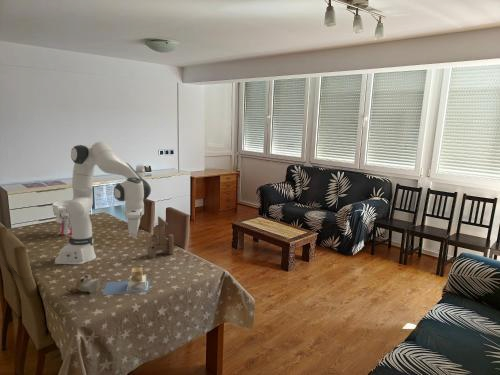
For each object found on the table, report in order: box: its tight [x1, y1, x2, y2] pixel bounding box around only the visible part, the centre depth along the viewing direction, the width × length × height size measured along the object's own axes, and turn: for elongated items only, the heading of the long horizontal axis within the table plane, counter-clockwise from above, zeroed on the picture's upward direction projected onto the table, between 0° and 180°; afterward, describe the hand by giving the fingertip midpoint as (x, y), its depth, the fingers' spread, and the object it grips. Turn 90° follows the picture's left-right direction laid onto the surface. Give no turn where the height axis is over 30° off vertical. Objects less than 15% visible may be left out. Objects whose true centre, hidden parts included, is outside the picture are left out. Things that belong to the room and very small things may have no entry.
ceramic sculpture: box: [66, 274, 100, 294], centre depth 178 cm, size 11×9×15 cm
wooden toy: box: [146, 215, 174, 259], centre depth 227 cm, size 16×7×25 cm, turn 122°
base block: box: [128, 274, 147, 290], centre depth 183 cm, size 8×8×4 cm
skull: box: [52, 199, 72, 237], centre depth 259 cm, size 25×19×23 cm
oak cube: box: [130, 266, 144, 281], centre depth 182 cm, size 5×5×5 cm
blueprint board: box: [101, 279, 151, 296], centre depth 182 cm, size 22×14×1 cm, turn 103°
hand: (134, 237), depth 179 cm, fingers closed
